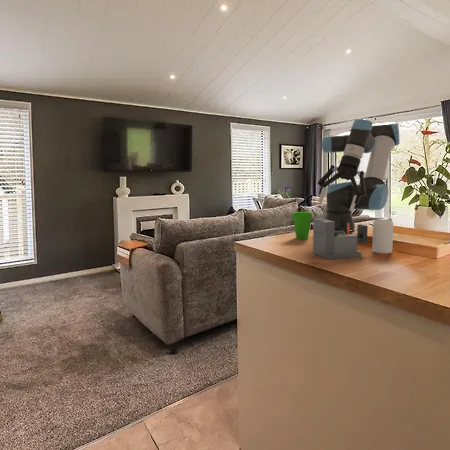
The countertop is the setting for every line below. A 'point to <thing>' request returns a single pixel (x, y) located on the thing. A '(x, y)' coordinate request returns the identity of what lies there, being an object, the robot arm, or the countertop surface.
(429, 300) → the countertop surface
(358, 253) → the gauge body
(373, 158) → the robot arm
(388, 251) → the can
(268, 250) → the countertop surface
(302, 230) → the cup
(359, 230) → the plunger
